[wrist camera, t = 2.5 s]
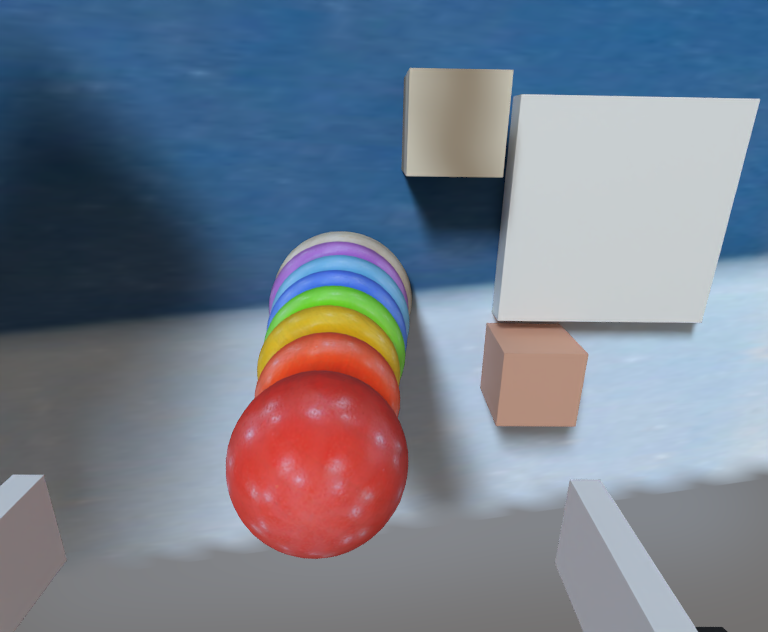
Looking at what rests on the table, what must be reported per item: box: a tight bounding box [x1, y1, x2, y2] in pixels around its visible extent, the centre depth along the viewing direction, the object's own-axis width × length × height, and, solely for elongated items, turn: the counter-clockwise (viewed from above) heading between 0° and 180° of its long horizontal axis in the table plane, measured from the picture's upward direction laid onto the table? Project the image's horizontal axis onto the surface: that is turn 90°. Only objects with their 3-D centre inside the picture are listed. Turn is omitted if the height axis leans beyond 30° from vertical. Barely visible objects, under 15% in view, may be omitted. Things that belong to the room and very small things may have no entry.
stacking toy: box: [226, 232, 412, 559], centre depth 20 cm, size 8×8×19 cm
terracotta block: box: [480, 323, 588, 426], centre depth 29 cm, size 4×4×4 cm
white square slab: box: [492, 94, 760, 323], centre depth 27 cm, size 12×12×2 cm
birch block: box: [402, 68, 513, 177], centre depth 24 cm, size 4×4×4 cm
